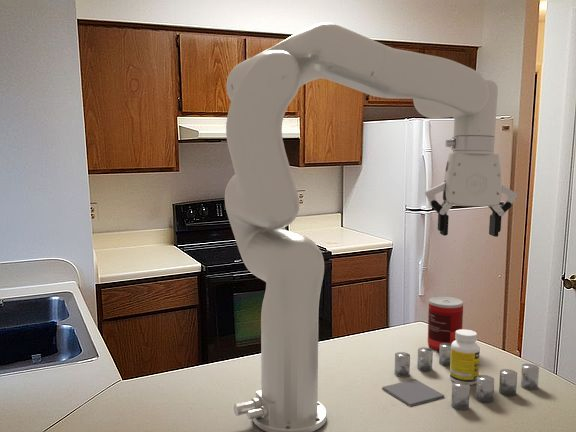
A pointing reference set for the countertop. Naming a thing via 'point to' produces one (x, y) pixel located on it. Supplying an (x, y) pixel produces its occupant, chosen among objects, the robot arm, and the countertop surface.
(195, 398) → the countertop surface
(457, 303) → the canned food
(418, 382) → the mat
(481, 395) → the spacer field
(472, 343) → the supplement bottle
